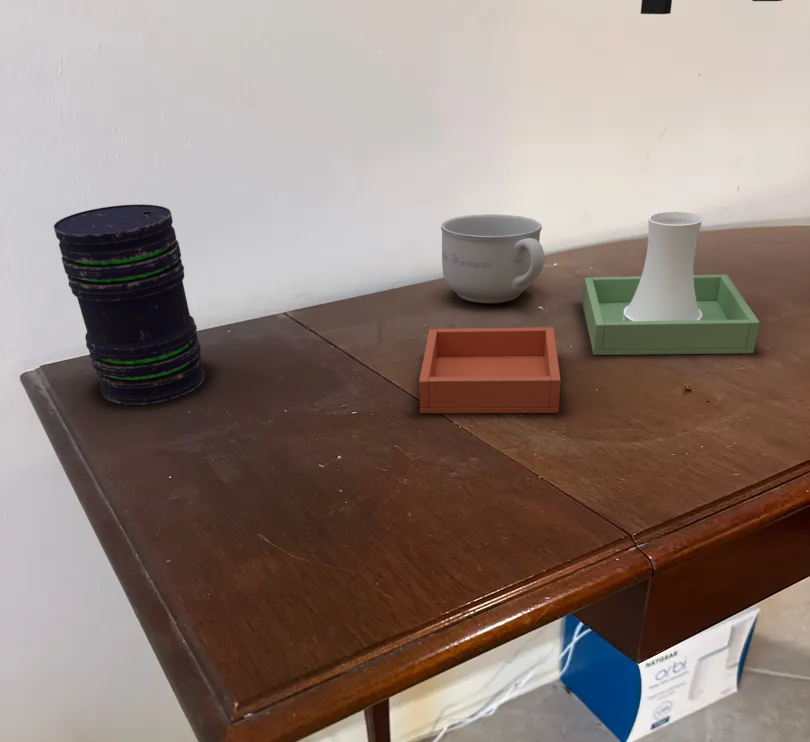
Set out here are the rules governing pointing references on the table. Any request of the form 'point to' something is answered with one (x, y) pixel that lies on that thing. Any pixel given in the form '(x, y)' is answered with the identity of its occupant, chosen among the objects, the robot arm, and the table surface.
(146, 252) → the dark blue cylinder
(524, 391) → the terracotta tray
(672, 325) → the green tray
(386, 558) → the table surface
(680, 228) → the vase
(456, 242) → the teacup
